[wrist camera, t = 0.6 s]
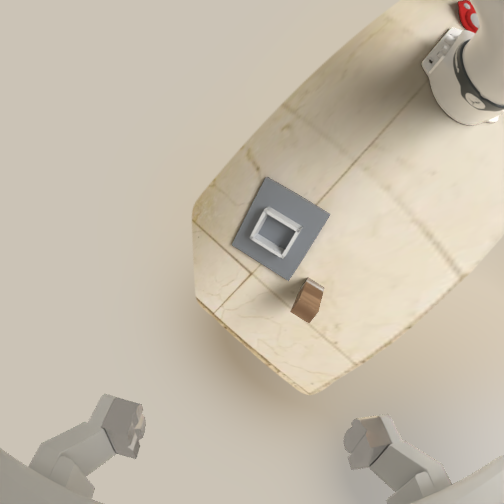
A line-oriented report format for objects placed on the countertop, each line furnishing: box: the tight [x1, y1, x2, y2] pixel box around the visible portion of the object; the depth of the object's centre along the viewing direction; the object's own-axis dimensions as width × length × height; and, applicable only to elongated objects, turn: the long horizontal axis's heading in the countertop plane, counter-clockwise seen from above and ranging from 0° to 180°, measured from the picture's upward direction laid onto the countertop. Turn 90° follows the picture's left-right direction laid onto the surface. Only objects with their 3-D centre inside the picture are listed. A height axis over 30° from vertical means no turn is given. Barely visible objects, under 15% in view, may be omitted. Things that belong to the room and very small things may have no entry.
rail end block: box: [291, 278, 324, 323], centre depth 51 cm, size 3×4×10 cm
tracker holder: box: [458, 0, 479, 33], centre depth 22 cm, size 12×4×10 cm
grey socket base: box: [232, 177, 330, 281], centre depth 53 cm, size 16×14×4 cm
